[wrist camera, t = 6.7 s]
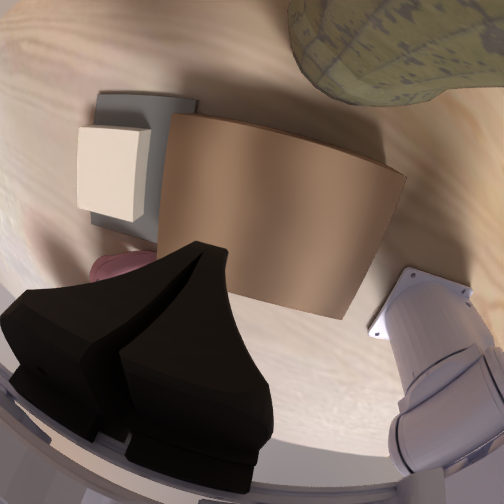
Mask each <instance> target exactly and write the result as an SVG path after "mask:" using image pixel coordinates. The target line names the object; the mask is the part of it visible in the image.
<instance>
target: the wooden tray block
mask: <svg viewBox="0 0 504 504" xmlns="http://www.w3.org/2000/svg"><path fill="white" fill-rule="evenodd" d="M406 179H407V177H406V176H404V175H403V174H401V173H399V172H398V171H396V170H394V169H392V168H391V167H389V166H387V165H385V164H383V163H380V162H378V161H375V160H372V159H370V158H367V157H365V156H362V155H359V154H356V153H354V152H351V151H348V150H345V149H342V148H339V147H336V146H333V145H330V144H327V143H324V142H321V141H317V140H314V139H311V138H307V137H304V136H300V135H297V134H293V133H289V132H286V131H282V130H278V129H274V128H270V127H266V126H261V125H257V124H252V123H248V122H243V121H238V120H233V119H227V118H222V117H216V116H210V115H204V114H197V113H172V118H171V123H170V129H169V136H168V142H167V149H166V156H165V163H164V171H163V180H162V189H161V199H160V211H159V223H158V239H157V260H158V259H161V258H163V257H165V256H167V255H169V254H170V253H172V252H174V251H176V250H178V249H180V248H182V247H184V246H186V245H188V244H190V243H192V242H194V241H200V242H203V243H207V244H211V245H214V246H218V247H222V248H226V249H227V250H228V252H229V254H228V259H227V264H226V269H225V274H226V286H227V292H230V293H234V294H237V295H241V296H245V297H248V298H252V299H256V300H260V301H264V302H268V303H271V304H275V305H279V306H283V307H287V308H291V309H296V310H300V311H304V312H308V313H312V314H317V315H321V316H325V317H330V318H334V319H339V320H342V319H343V317H344V315H345V313H346V312H347V310H348V308H349V306H350V304H351V302H352V301H353V299H354V297H355V295H356V293H357V291H358V289H359V287H360V285H361V283H362V281H363V279H364V277H365V275H366V273H367V271H368V269H369V267H370V265H371V263H372V261H373V259H374V257H375V254H376V252H377V250H378V248H379V246H380V244H381V241H382V239H383V237H384V234H385V232H386V230H387V227H388V225H389V223H390V220H391V218H392V215H393V213H394V210H395V208H396V205H397V203H398V200H399V198H400V195H401V192H402V190H403V187H404V184H405V181H406Z"/></svg>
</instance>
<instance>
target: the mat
mask: <svg viewBox="0 0 504 504" xmlns="http://www.w3.org/2000/svg"><path fill="white" fill-rule="evenodd" d="M197 102H198V100H193V99H185V98H175V97H164V96H149V95H124V94H100V95H98V96H97V103H96V110H95V118H94V125H107V126H121V127H132V128H142V129H151V137H150V145H149V153H148V162H147V172H146V184H145V197H144V214H143V215H142V216H140V217H139V218H138V219H136V220H135V221H134V222H130V221H126V220H122V219H118V218H114V217H111V216H107V215H103V214H99V213H96V212H92V211H91V224H93V225H96V226H100V227H103V228H106V229H110V230H113V231H116V232H120V233H123V234H127V235H130V236H133V237H137V238H140V239H144V240H147V241H151V242H154V243H157V239H158V223H159V211H160V199H161V189H162V180H163V171H164V163H165V156H166V149H167V142H168V136H169V129H170V123H171V118H172V113H195V112H196V107H197Z"/></svg>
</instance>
